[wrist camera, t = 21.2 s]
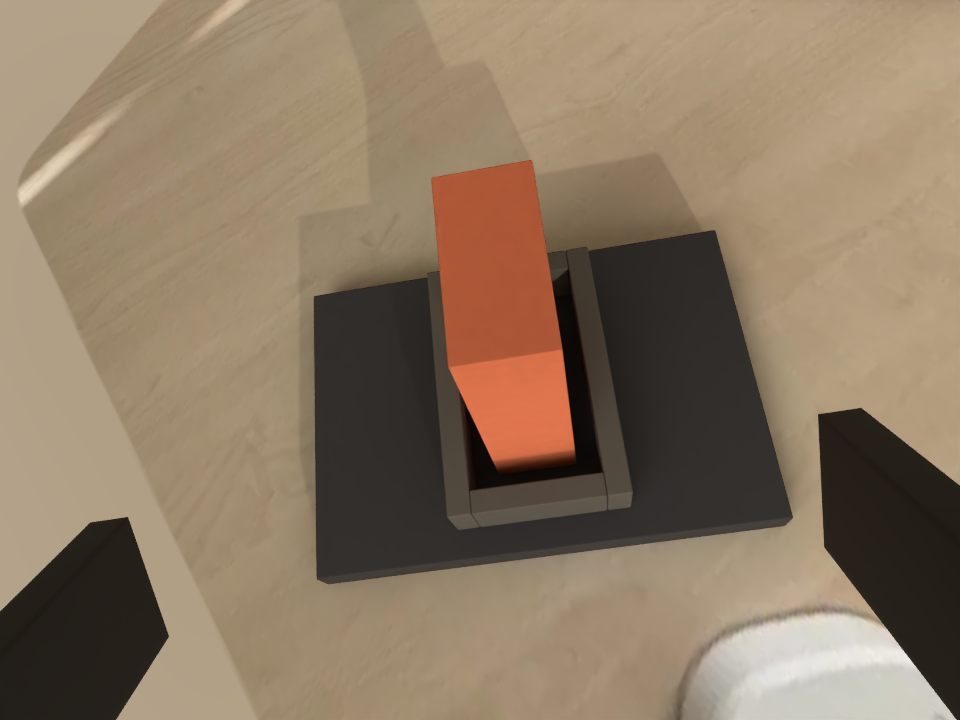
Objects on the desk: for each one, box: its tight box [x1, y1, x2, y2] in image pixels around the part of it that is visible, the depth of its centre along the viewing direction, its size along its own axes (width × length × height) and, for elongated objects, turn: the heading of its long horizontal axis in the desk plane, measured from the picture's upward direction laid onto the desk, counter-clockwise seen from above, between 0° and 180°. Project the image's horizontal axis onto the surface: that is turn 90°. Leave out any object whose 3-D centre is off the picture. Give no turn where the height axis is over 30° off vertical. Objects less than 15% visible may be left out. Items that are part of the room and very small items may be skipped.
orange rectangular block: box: [431, 160, 577, 475], centre depth 29 cm, size 3×7×12 cm, turn 6°
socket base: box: [314, 230, 793, 584], centre depth 34 cm, size 20×14×4 cm
